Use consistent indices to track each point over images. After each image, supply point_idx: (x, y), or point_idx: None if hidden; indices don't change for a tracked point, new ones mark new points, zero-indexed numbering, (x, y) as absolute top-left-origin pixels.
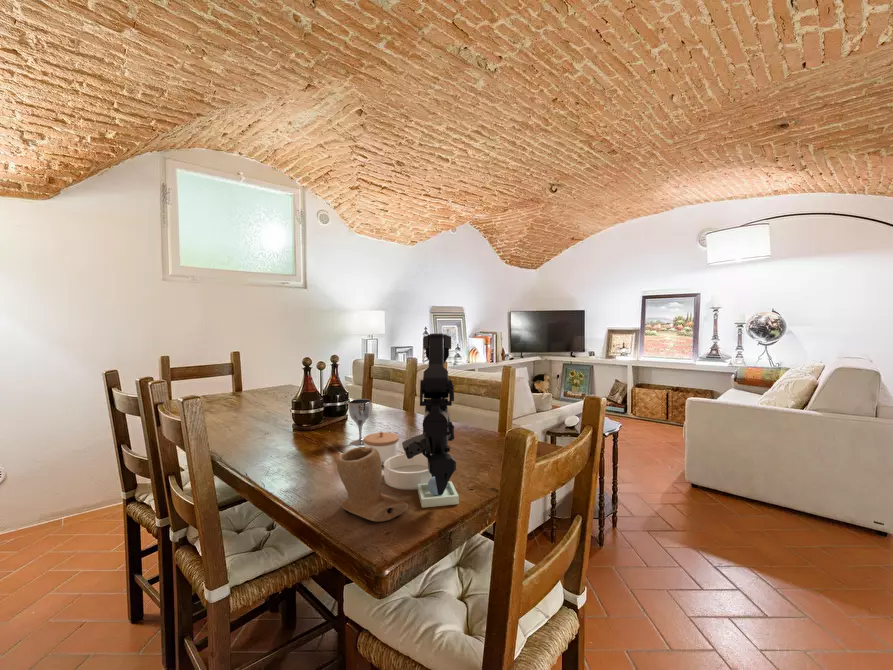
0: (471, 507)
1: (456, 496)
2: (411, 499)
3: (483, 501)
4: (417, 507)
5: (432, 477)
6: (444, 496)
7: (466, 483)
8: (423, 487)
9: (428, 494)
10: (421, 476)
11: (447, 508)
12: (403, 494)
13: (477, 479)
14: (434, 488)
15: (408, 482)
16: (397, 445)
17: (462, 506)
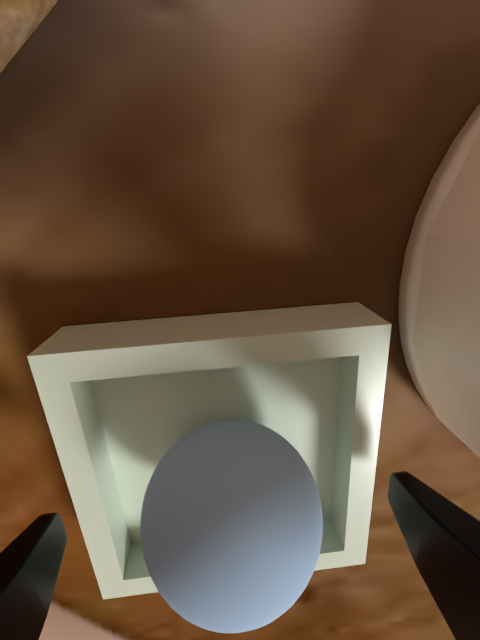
0: (75, 590)
1: (99, 586)
2: (222, 246)
3: (148, 635)
4: (68, 292)
5: (251, 561)
6: (93, 524)
7: (388, 578)
8: (348, 364)
9: (237, 391)
10: (473, 389)
11: (58, 484)
12: (336, 174)
13: (419, 620)
14: (145, 499)
15: (459, 232)
16: None
17: (88, 554)
